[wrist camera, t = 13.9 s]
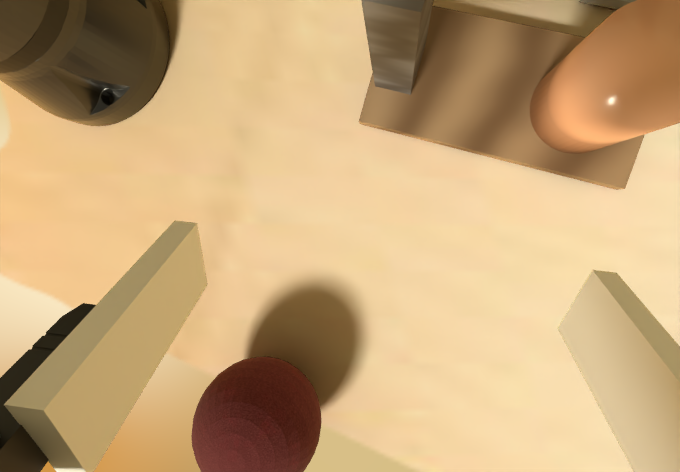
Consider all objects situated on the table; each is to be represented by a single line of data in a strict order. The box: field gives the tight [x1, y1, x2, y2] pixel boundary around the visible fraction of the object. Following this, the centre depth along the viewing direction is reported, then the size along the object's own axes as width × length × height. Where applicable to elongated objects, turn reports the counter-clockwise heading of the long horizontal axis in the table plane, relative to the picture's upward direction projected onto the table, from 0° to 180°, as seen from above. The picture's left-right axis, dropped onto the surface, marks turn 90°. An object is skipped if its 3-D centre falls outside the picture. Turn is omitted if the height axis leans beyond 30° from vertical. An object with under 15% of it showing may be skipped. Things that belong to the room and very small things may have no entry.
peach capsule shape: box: [530, 0, 680, 154], centre depth 23 cm, size 7×7×8 cm
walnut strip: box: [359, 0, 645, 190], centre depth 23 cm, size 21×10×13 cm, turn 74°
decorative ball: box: [192, 357, 321, 472], centre depth 29 cm, size 10×10×10 cm
